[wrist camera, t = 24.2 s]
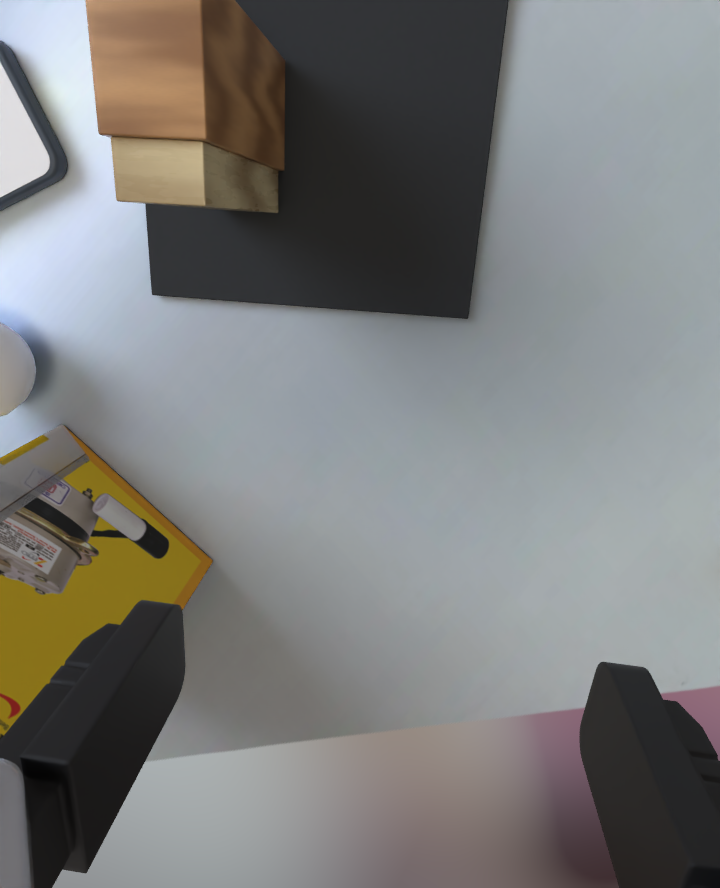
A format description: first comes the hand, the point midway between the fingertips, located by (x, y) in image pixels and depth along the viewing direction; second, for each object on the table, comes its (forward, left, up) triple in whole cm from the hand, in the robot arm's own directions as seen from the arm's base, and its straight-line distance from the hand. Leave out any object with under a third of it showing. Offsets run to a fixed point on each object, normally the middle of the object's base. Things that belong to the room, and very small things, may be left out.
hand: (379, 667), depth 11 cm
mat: (+7, -12, -31) cm, 34 cm away
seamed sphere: (+31, +4, -31) cm, 44 cm away
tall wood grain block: (+11, -8, -23) cm, 27 cm away
